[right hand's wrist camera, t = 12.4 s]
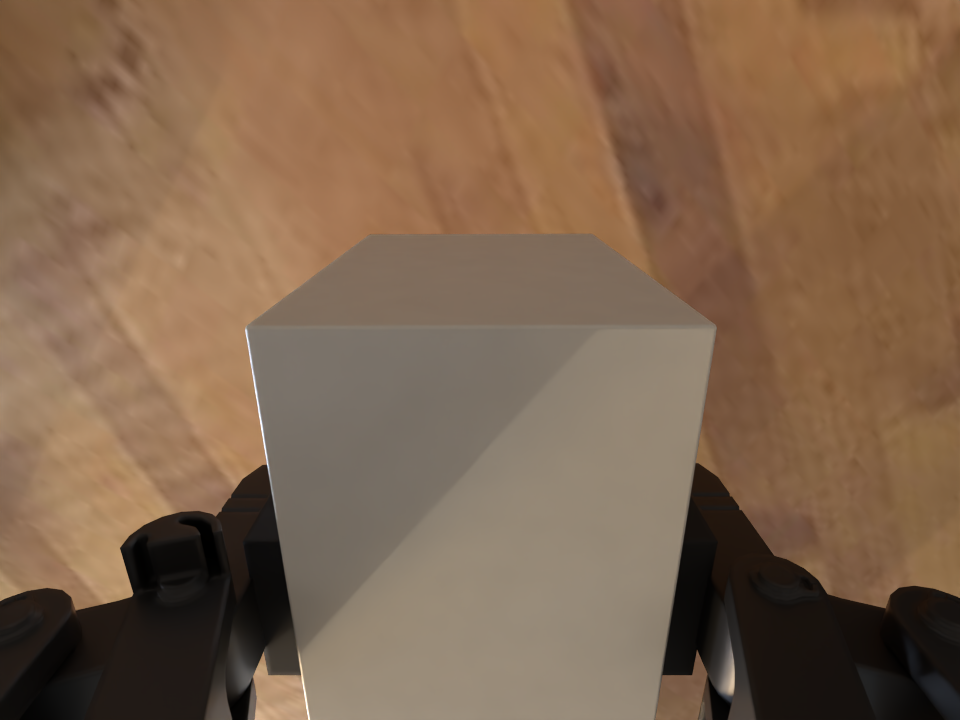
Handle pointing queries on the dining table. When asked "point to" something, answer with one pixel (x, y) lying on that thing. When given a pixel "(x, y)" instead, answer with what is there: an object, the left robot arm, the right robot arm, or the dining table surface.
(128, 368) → the dining table surface
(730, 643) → the right robot arm
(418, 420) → the bar
